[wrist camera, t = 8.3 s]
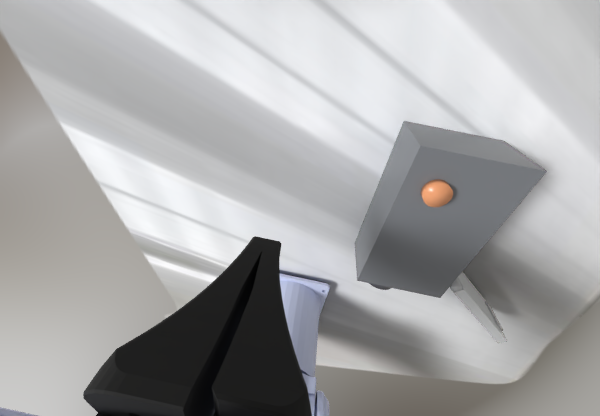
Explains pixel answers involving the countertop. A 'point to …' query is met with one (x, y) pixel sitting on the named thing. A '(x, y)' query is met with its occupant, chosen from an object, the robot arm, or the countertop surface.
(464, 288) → the side door
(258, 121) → the countertop surface
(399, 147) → the grey box
